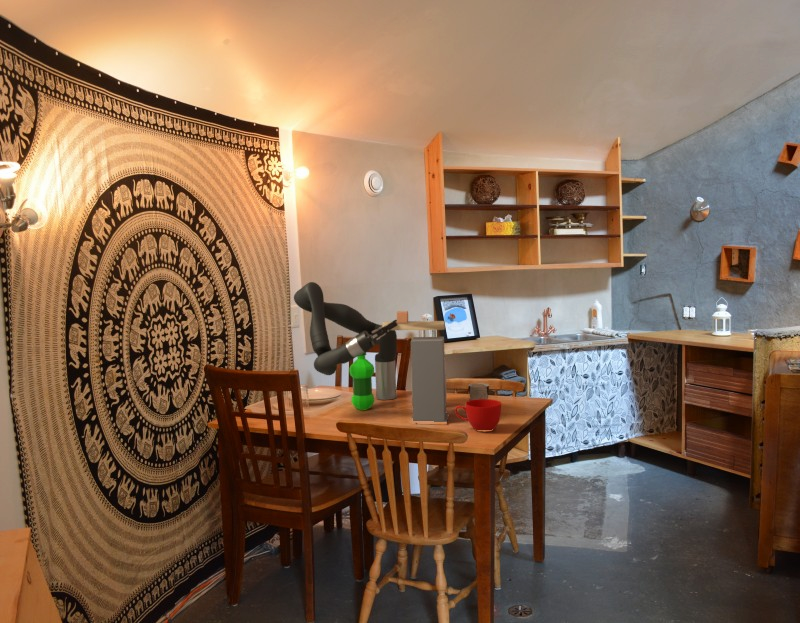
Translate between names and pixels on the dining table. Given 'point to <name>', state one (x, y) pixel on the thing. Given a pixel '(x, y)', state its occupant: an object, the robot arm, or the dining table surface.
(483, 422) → the ceramic cup
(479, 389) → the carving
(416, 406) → the stand
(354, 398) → the plastic bottle
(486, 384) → the coffee mug
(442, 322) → the tan wooden bar
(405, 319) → the orange cube
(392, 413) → the dining table surface
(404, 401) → the dining table surface
